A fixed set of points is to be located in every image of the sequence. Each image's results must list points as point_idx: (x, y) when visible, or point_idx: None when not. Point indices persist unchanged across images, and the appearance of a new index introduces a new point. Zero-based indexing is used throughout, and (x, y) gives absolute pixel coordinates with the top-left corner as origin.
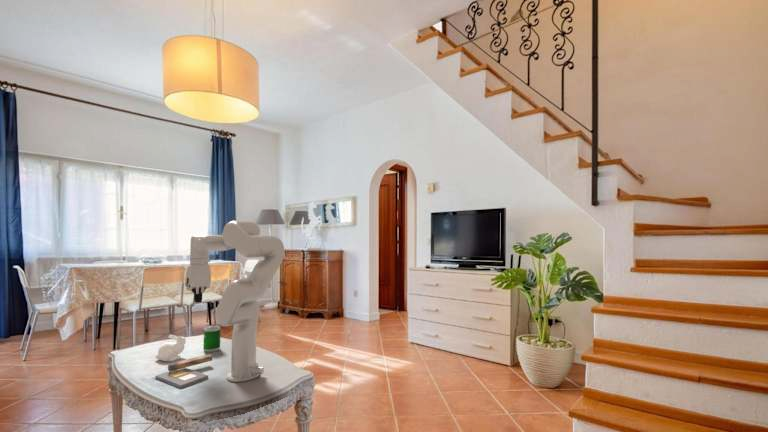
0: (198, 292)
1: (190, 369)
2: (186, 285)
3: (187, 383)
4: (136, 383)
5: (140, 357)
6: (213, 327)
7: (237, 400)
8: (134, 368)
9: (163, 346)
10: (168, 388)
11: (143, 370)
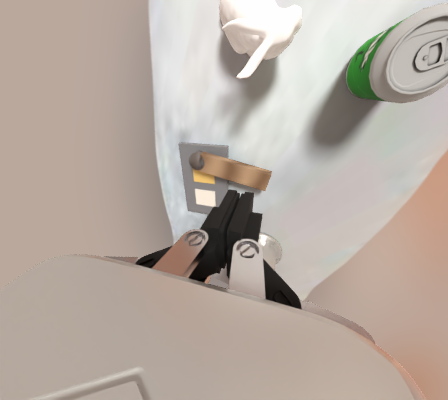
0: (207, 279)
1: None
2: (53, 263)
3: (196, 211)
4: (155, 133)
5: None
6: (398, 89)
7: None
8: (171, 24)
9: (225, 15)
10: (180, 193)
11: (180, 67)
